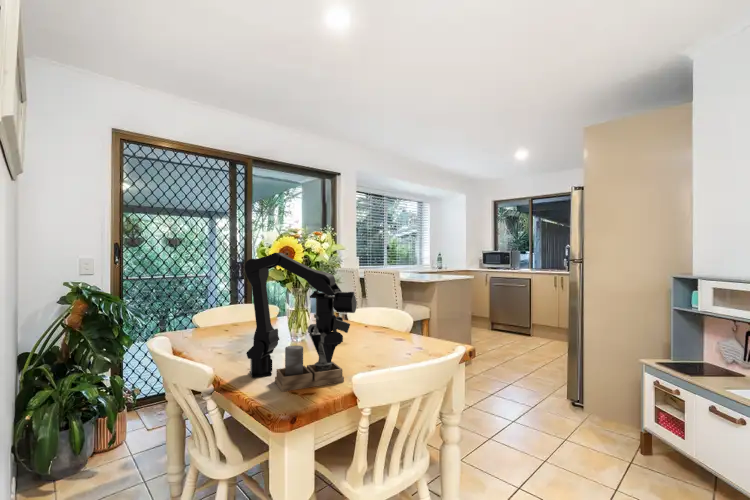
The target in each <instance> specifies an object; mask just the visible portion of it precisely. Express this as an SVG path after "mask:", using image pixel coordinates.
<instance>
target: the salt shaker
mask: <svg viewBox="0 0 750 500" xmlns="http://www.w3.org/2000/svg"><path fill="white" fill-rule="evenodd" d="M318 353H319V356H318V361H316V362H314V364H315V365H316V369H317V370H318V371H320V372H322V371H329V370H330V369H331V366H332V363H333V362H334V361H331V363H327V361H326V358H325V355H324V352H323V349H322V346H321V341H320V342H319V351H318ZM318 353H317V354H318Z"/></svg>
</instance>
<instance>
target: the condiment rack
mask: <svg viewBox="0 0 750 500" xmlns="http://www.w3.org/2000/svg"><path fill="white" fill-rule="evenodd" d="M284 349H285V350H284V355H285V356H284V365H285V366H284V367H282V368H276V376H274V383H275V384H276V385H277V386H278V388H279V390H280V391H281V392H282V393H283V392H288V391H294V390H300V389H307V388H313V387H319V386H320V387H321V386H326V385H331V384H339V383H344V382H345V377H344V376H343V368H341V367H340V366H339V365H338V364H337V363H335V362H334V361H332V362H333V363H332V366H331V369H330V370H329V371H322V372H320V371H318V370H317V369H316V365H315V363H314V364H313V363H312V364H307V365H306V366H305V365H304V346H303V345H288V346H286V347H284Z"/></svg>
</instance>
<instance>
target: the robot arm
mask: <svg viewBox="0 0 750 500" xmlns="http://www.w3.org/2000/svg"><path fill="white" fill-rule="evenodd" d="M243 266H244V267H243V269H244V274H245V277H246V279H247V281H248V282H249V284H250V286H251V292H252V293H251V294H252V299H253V300H252V301H253V308H254V317H255V324H256V327H255V331H254V334H253V345H252V347H250V348H249V350H247V351H246V353H245V354H246V357H247V360H250V362H249V363H250V370H249V374H250V377H251V378H259V377H266V376H272V374H273V373H272V372H273V359H272V358H271V354H273V352H274V350H275V349H276V347H277V346H278V345H279V344H278V343H279V341H280V337H279V330H278V328H274V326H273V325H272V322H271V314H270V312H271V311H270V306H269V305H270V304H269V296H268V288H267V283H268V279H269V275H270V269H273V268H275V267H277V266H278V267H280V268H282V269H283V270H285V271H287V272H290V273H291V274H294V275H295V276H297V277H299V278H301V279H303V280H304V281H306V282H307V283H308V285H310V286H311V288H313V289H314V291H313V292H312V294H310V295H309V298H310V299H315V314H313V317H314V318H315V323H311V324H310V325H309V326H308V327H307V333H308V334H309V335H308V336H309V337H310V340H311V342H312V344H313V346H314V348H315V351H316V353H317V355H318V357H319V353H318V351H319V342H320V341H321V346H322V349H323V352H324V355H325V358H326V361H327V363H331V362H332V360H333V357H334V353H335V350H336V348H337V346H339V345H340V344H342V343H343V342H344V336H343V335H344V334H341V333H340V332H339V331H341V332H344V333H346V334H348V332H349V329H350V326H351V323H350V322H347V321H344V319H343V317H341V316H336V315H335V314H334V311H336V313H342V314H343V313H344V314H347V313H349V314H355V313H356V310H357V304H358V303H357V299H356V295H355V291H342V290H341V288H340V287H339V285H338V284H337V282H336V277H335V276H334V275H333V274H332V273H329V272H326V271H322V270H318V269H314V268H311V267H309V266H307V265H306V264H303V263H302V262H299V261H297V260H296V259H293V258H291V257H289V256H288V255H286V254H285V253H283V252H273V253H272V254H269V255H266V256H261V257H259V258H249V259H248V260H247V261H246V262H245V263H244V264H243Z"/></svg>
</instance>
